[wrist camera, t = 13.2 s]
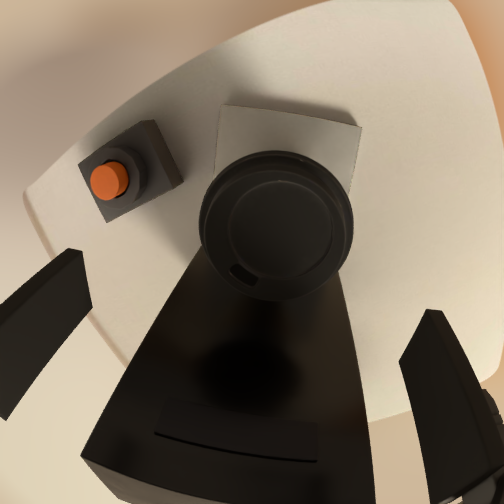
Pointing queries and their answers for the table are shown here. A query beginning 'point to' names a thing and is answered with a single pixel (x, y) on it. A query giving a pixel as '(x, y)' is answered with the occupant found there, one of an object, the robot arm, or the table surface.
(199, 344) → the coffee maker
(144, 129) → the control block
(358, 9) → the table surface
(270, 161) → the coffee cup
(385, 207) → the table surface
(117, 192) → the button
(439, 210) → the table surface
